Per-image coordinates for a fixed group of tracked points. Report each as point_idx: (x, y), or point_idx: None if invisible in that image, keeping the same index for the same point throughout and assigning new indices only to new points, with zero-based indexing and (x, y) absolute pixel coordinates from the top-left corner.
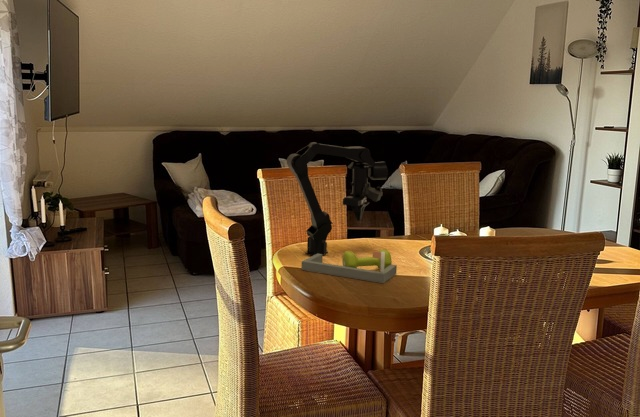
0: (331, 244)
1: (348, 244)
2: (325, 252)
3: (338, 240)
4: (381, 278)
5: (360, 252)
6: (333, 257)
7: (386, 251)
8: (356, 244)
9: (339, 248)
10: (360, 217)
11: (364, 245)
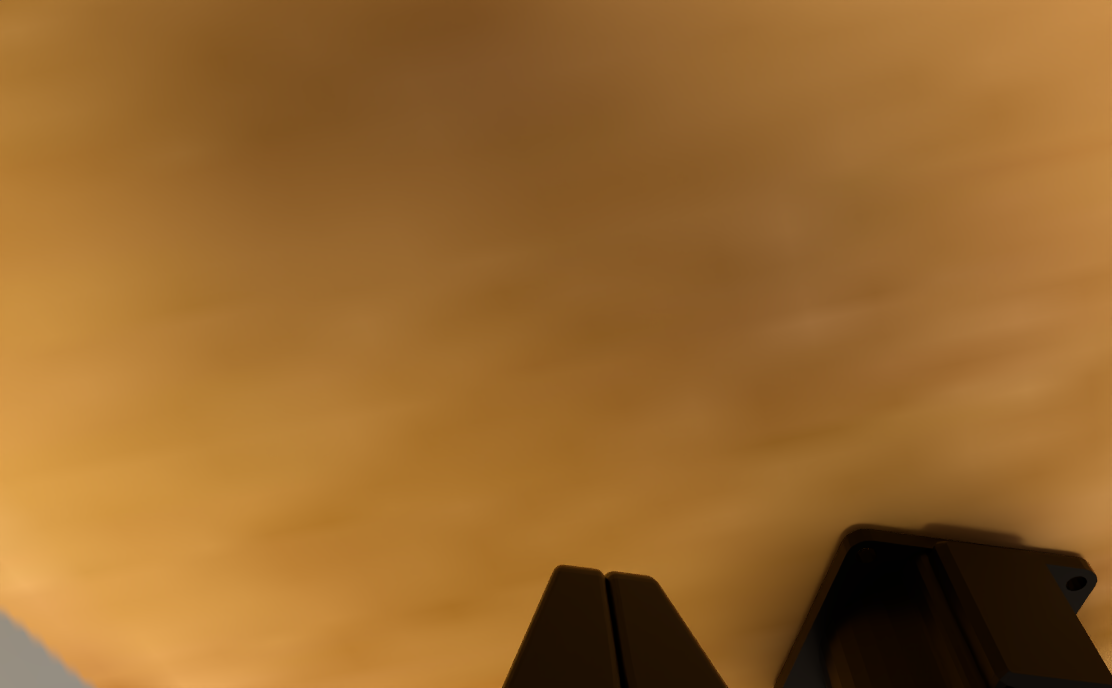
0: (312, 587)
1: (168, 378)
2: (993, 553)
3: (8, 561)
4: None
5: (666, 45)
6: (1099, 400)
7: None
8: (82, 254)
9: (506, 443)
10: (694, 686)
11: (62, 89)
